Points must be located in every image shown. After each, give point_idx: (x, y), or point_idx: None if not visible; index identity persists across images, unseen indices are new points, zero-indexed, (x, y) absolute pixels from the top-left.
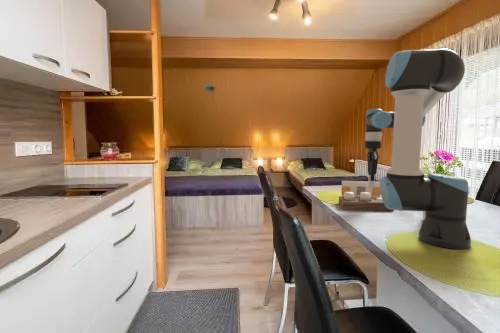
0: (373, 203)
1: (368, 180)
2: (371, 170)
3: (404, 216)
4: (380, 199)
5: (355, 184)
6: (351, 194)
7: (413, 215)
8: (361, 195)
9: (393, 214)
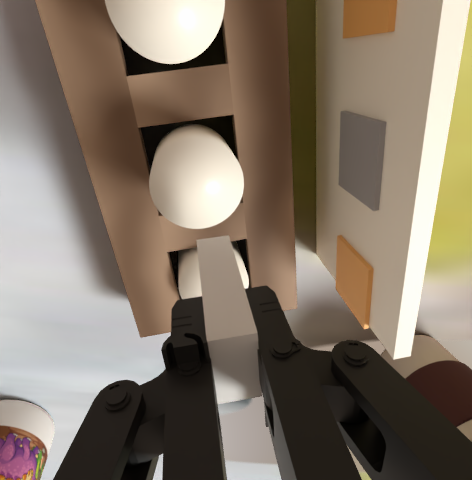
0: (106, 218)
1: (237, 274)
2: (71, 451)
3: (41, 339)
4: (180, 276)
5: (403, 106)
6: (116, 25)
7: (85, 373)
8: (167, 142)
9: (61, 296)
